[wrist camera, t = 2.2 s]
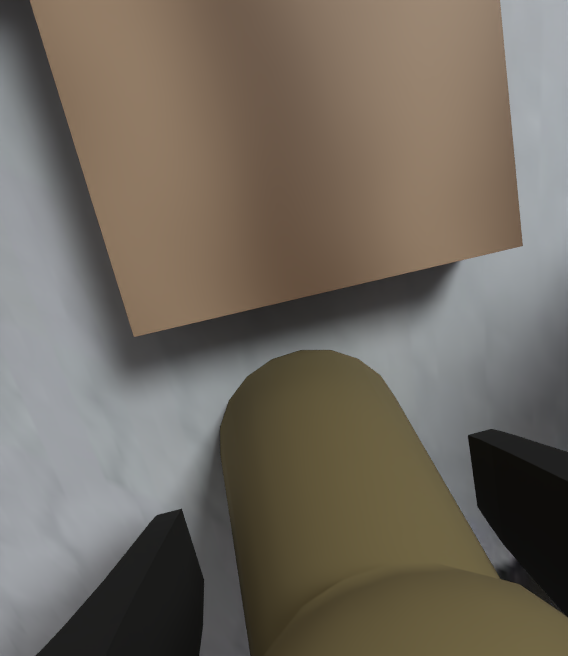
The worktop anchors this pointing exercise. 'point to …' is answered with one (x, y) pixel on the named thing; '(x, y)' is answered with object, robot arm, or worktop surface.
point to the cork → (358, 527)
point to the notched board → (283, 143)
